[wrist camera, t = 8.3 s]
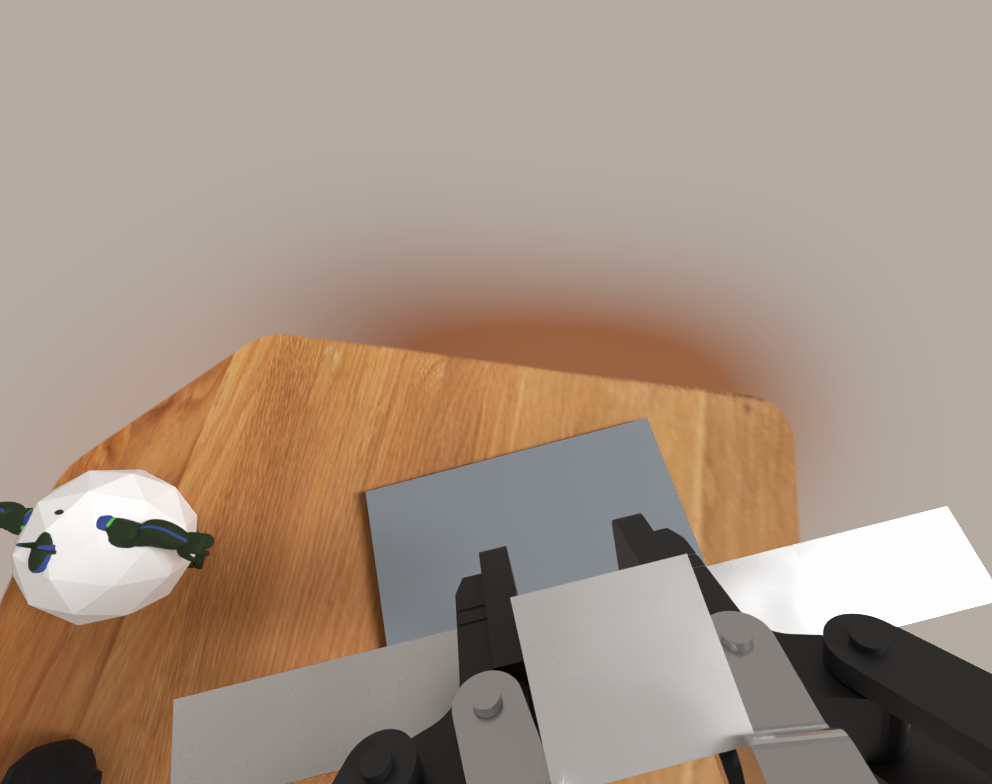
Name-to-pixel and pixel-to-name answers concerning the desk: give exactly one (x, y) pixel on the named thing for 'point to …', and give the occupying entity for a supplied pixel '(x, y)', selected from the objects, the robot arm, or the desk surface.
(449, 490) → the mat
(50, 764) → the microphone
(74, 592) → the figurine
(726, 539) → the desk surface
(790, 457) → the desk surface
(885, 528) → the rail
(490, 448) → the desk surface
